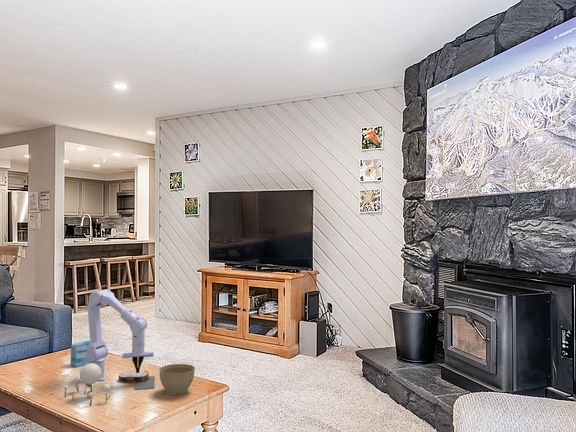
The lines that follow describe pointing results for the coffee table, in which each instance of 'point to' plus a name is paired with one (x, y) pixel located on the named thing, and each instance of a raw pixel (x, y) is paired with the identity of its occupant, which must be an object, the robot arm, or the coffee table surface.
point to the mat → (146, 384)
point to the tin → (133, 377)
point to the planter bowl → (176, 378)
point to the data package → (79, 353)
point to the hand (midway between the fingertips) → (137, 372)
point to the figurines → (89, 380)
